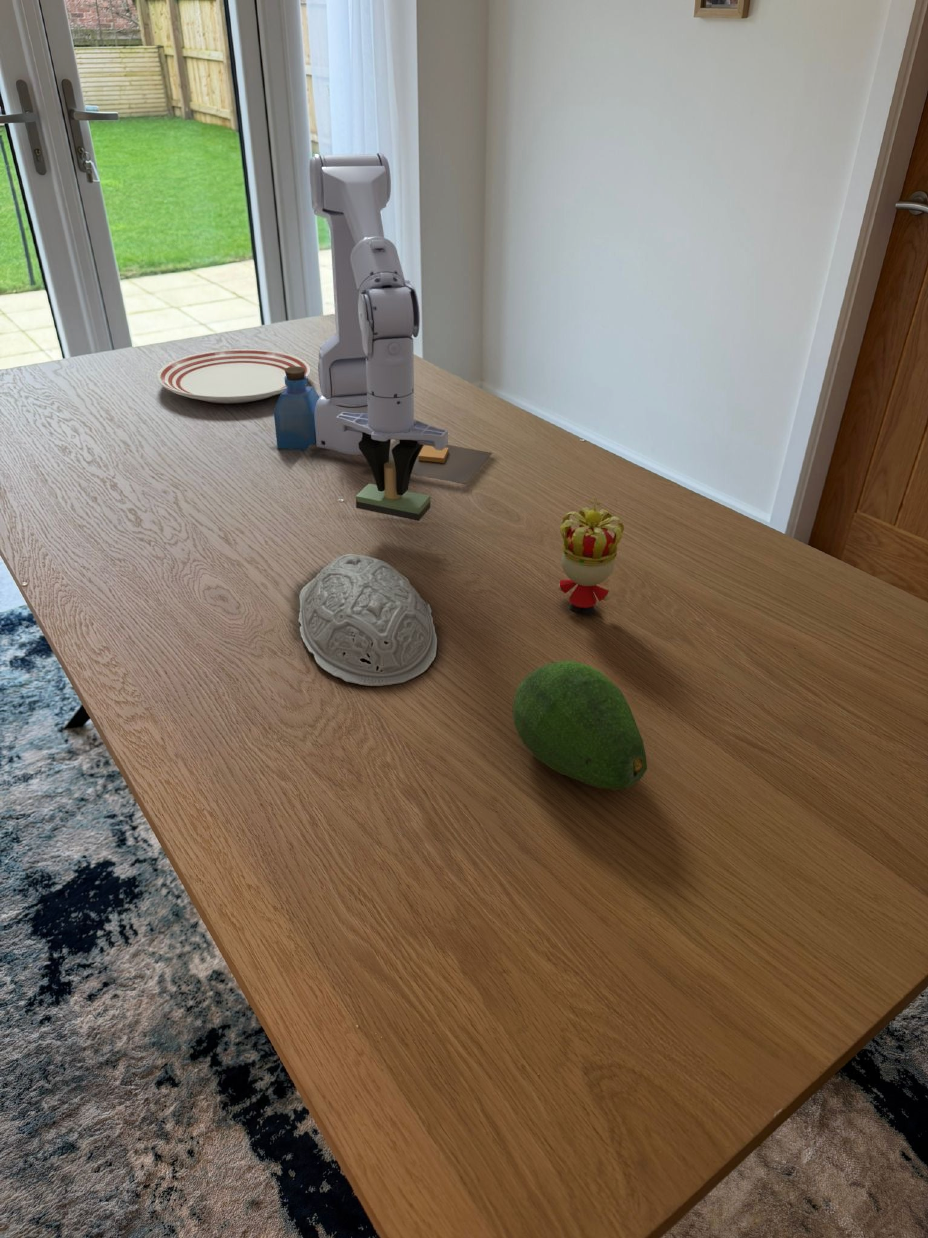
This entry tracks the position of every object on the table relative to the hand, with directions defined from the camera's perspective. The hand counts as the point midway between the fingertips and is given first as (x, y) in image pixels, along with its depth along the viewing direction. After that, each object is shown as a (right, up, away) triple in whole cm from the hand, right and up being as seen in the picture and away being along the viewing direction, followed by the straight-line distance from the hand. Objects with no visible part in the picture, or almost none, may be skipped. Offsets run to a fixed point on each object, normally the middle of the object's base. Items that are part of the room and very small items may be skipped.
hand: (392, 489), depth 117 cm
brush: (0, -2, +1) cm, 3 cm away
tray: (+4, +7, +23) cm, 24 cm away
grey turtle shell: (-2, -17, -12) cm, 21 cm away
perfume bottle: (-17, +12, +29) cm, 36 cm away
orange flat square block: (+5, +9, +23) cm, 25 cm away
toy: (+24, -16, -9) cm, 30 cm away
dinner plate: (-33, +26, +49) cm, 64 cm away
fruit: (+20, -31, -31) cm, 48 cm away
